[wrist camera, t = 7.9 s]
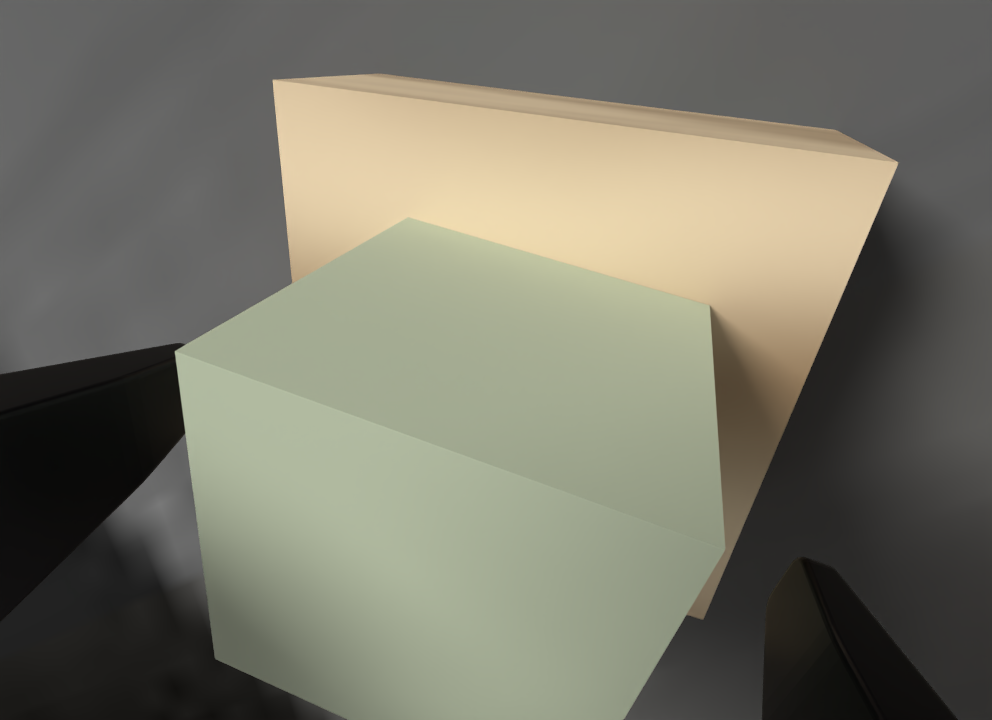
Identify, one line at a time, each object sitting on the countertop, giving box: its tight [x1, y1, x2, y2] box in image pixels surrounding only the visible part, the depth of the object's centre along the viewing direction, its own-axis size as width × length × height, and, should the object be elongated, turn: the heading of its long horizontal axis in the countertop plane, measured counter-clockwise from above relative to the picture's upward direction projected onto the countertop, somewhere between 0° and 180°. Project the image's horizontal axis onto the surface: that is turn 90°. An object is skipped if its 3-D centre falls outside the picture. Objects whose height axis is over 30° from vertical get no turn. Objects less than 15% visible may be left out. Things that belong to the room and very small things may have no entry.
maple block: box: [273, 74, 899, 620], centre depth 12 cm, size 9×9×4 cm
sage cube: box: [175, 217, 725, 720], centre depth 8 cm, size 5×5×5 cm
